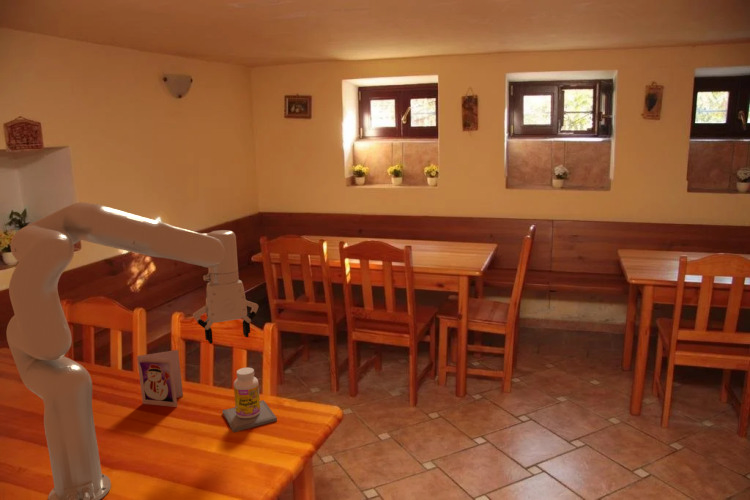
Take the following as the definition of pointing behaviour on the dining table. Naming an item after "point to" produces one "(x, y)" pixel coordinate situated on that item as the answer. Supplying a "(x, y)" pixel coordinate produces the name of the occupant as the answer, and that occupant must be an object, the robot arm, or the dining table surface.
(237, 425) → the slate trivet
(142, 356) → the greeting card
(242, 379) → the supplement bottle
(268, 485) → the dining table surface
